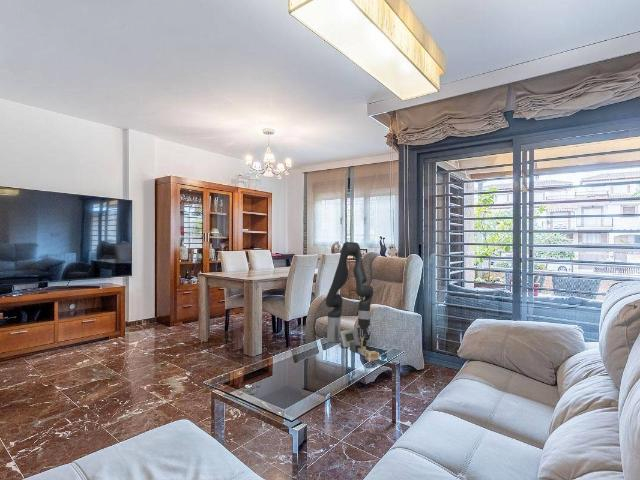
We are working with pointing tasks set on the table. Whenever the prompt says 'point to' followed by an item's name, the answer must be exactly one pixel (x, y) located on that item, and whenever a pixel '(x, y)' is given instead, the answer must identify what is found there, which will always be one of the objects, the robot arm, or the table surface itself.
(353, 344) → the sleeve
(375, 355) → the tan block
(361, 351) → the tube
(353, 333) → the digital clock
